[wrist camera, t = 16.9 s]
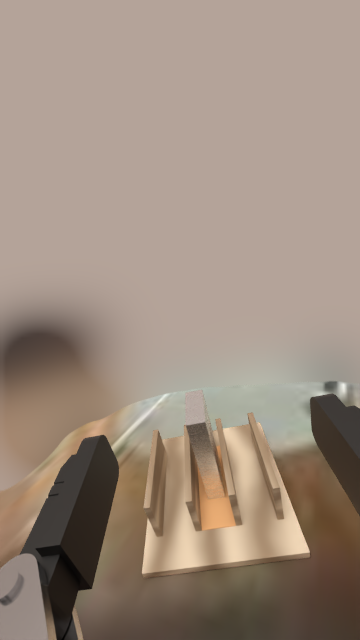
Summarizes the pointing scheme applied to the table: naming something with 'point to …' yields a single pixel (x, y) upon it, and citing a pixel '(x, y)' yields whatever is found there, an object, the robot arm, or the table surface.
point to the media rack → (217, 506)
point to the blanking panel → (204, 444)
